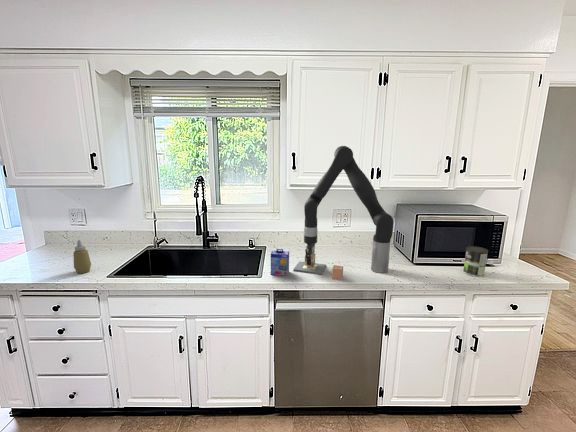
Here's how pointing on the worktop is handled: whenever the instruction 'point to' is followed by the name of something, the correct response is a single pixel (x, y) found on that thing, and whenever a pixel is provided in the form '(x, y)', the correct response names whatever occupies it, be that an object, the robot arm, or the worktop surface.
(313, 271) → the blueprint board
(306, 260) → the maple block
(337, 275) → the terracotta block
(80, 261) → the squeeze bottle
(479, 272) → the coffee can
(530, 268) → the worktop surface
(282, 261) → the ink cartridge box
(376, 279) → the worktop surface
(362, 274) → the worktop surface
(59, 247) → the worktop surface
